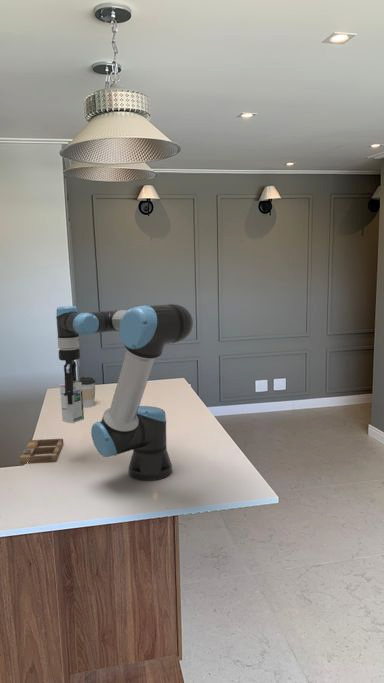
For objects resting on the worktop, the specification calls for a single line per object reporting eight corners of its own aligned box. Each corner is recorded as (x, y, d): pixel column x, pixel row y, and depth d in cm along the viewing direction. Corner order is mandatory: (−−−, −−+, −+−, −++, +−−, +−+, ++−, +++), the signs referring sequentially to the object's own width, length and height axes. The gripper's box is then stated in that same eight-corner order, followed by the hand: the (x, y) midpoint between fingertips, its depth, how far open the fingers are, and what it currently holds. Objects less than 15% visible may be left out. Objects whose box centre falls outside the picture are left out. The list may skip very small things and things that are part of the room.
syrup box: (73, 423, 178) (70, 384, 176) (61, 421, 181) (59, 383, 180) (84, 419, 183) (82, 381, 181) (72, 417, 186) (70, 380, 184)
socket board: (56, 461, 183) (55, 454, 182) (20, 463, 181) (19, 456, 181) (63, 444, 201) (63, 437, 201) (30, 446, 200) (30, 439, 199)
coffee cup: (100, 404, 261) (98, 377, 258) (87, 409, 253) (86, 380, 251) (87, 402, 265) (86, 375, 263) (75, 406, 258) (73, 378, 256)
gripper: (76, 352, 169) (79, 416, 172) (82, 344, 189) (85, 402, 192) (54, 353, 168) (57, 417, 171) (62, 345, 188) (65, 403, 191)
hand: (72, 409), depth 182 cm, fingers closed on syrup box, 8 cm apart
